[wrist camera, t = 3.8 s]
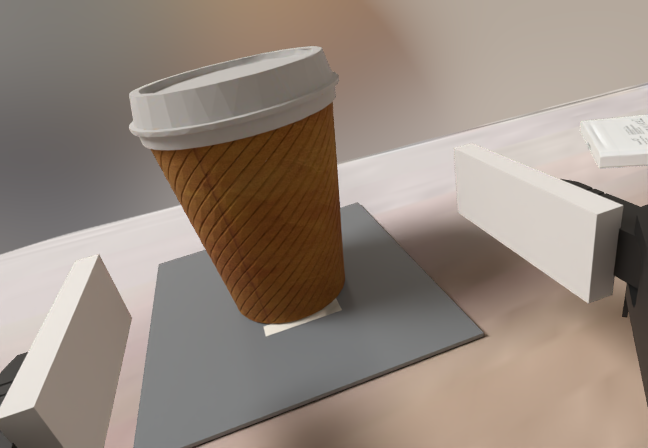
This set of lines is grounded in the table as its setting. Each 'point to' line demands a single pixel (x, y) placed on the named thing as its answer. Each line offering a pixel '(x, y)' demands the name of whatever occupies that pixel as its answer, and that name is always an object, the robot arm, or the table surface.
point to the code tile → (285, 340)
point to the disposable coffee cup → (255, 174)
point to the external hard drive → (617, 141)
